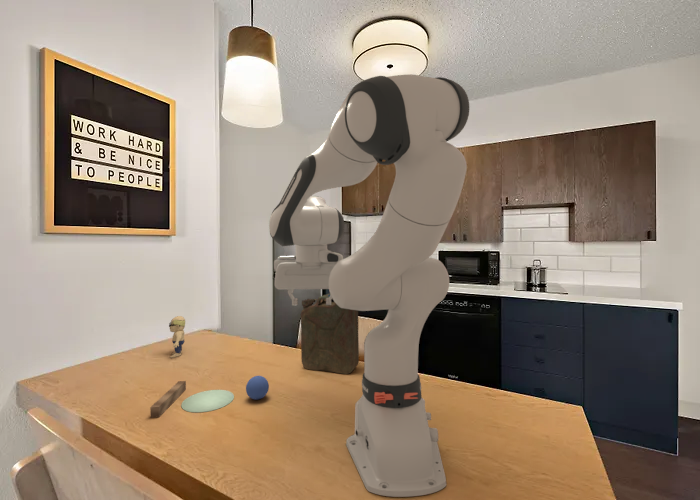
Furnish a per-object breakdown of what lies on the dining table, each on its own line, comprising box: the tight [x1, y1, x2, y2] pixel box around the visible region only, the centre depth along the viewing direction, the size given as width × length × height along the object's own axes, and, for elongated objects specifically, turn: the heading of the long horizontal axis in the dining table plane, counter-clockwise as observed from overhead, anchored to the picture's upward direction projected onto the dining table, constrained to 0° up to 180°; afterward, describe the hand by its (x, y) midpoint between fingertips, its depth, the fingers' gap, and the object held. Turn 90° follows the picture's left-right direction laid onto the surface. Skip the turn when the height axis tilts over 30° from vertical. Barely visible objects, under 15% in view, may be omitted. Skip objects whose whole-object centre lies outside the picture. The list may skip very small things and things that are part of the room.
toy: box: [168, 315, 186, 358], centre depth 130 cm, size 13×6×15 cm, turn 17°
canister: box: [300, 293, 360, 375], centre depth 114 cm, size 19×8×25 cm, turn 70°
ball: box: [245, 375, 270, 401], centre depth 92 cm, size 6×6×6 cm
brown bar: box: [149, 380, 187, 418], centre depth 90 cm, size 16×2×2 cm, turn 4°
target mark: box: [180, 389, 235, 413], centre depth 91 cm, size 13×13×1 cm
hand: (311, 305), depth 95 cm, fingers open, 8 cm apart
